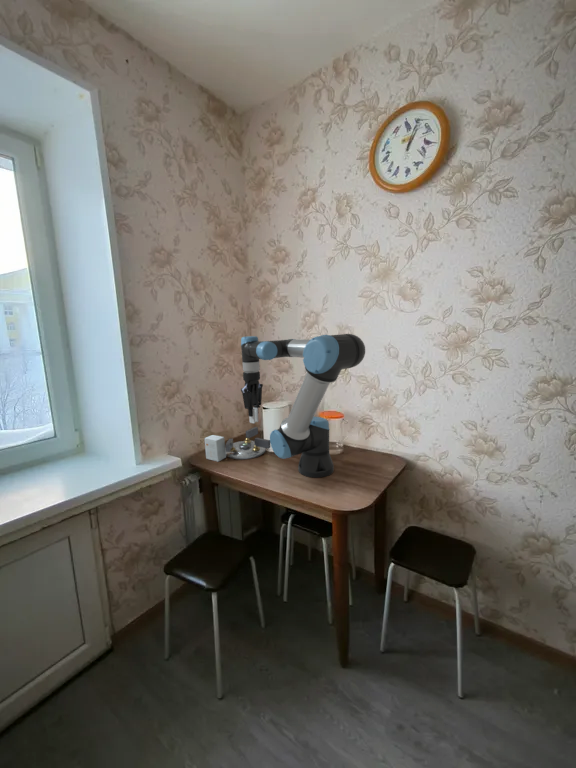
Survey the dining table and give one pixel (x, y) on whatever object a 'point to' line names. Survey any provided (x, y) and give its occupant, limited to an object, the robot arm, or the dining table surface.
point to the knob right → (251, 434)
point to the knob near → (261, 444)
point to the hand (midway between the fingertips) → (254, 422)
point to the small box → (215, 448)
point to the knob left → (229, 445)
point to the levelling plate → (244, 451)
